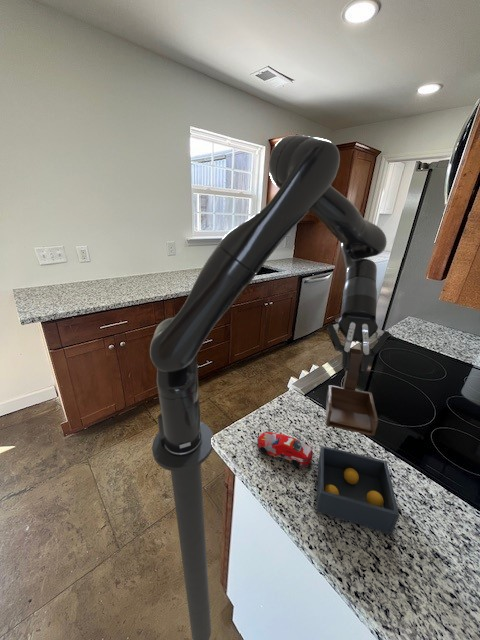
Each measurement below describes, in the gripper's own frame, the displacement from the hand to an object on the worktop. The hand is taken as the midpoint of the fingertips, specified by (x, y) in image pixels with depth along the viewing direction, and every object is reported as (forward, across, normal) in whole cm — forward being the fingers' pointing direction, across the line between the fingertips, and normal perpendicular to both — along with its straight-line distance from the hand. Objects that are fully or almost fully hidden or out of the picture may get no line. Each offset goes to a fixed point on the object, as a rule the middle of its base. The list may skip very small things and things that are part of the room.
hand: (354, 371), depth 57 cm
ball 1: (+24, -2, +3) cm, 25 cm away
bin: (+24, +2, +6) cm, 25 cm away
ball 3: (+24, +6, +4) cm, 25 cm away
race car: (+20, -13, +11) cm, 26 cm away
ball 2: (+21, +2, +7) cm, 22 cm away
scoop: (+8, 0, +5) cm, 9 cm away
